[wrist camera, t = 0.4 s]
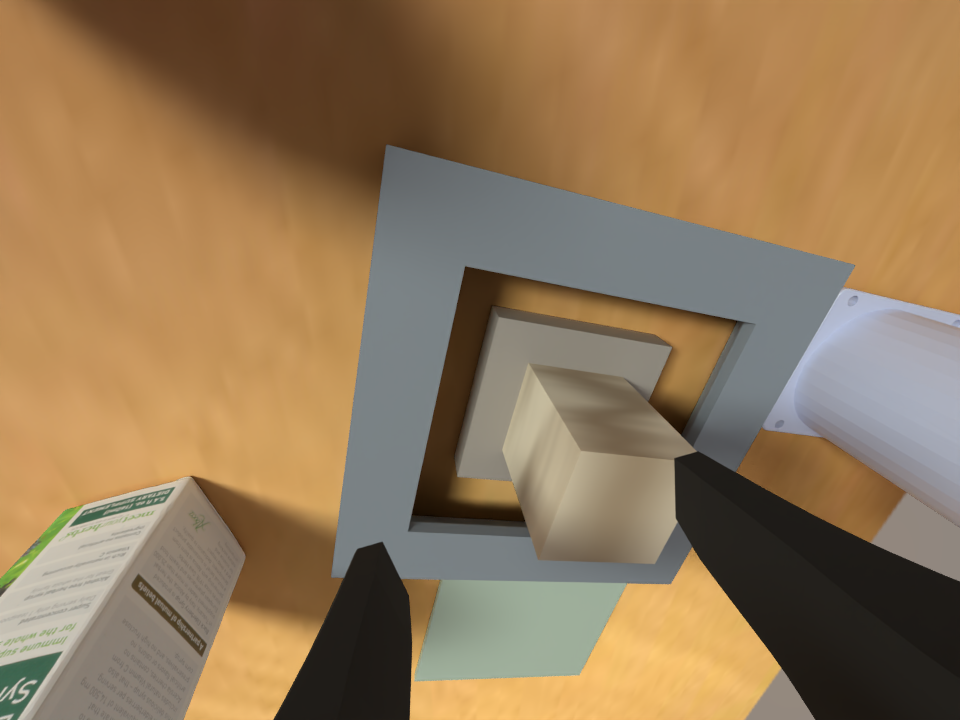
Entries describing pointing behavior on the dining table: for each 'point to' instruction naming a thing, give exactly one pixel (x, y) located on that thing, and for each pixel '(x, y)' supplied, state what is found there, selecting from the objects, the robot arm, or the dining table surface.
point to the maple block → (592, 467)
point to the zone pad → (513, 628)
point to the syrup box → (116, 608)
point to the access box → (546, 349)
